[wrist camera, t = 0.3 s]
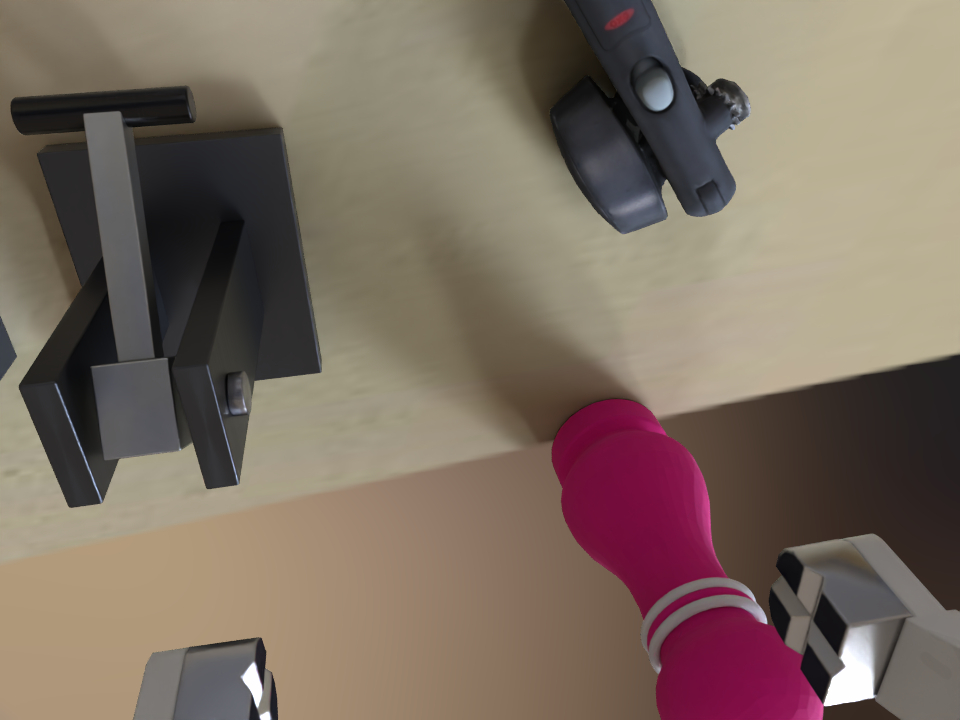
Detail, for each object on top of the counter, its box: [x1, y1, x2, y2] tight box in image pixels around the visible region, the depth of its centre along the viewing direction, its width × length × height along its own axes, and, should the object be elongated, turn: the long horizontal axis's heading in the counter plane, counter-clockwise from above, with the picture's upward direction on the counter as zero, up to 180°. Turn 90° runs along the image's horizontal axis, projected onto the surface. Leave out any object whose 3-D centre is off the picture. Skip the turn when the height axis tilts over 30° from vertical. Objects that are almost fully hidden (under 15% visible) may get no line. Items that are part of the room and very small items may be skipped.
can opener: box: [550, 0, 751, 234], centre depth 28 cm, size 18×7×6 cm, turn 29°
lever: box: [11, 86, 196, 460], centre depth 23 cm, size 11×5×2 cm, turn 2°
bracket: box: [19, 127, 322, 508], centre depth 27 cm, size 11×9×13 cm
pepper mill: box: [552, 399, 823, 720], centre depth 33 cm, size 7×7×20 cm
